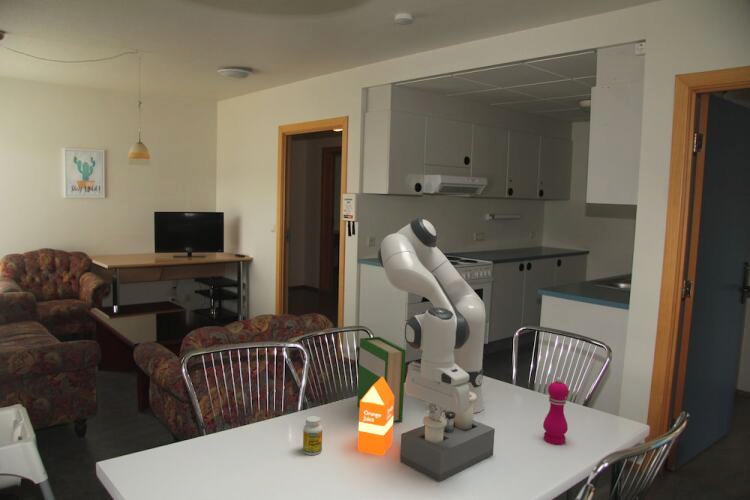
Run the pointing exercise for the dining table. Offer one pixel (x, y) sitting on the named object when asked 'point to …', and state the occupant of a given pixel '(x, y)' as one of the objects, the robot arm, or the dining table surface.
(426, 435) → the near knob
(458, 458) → the mount
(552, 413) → the pepper mill
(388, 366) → the hardback book
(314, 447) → the supplement bottle
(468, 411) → the cream lidded cup
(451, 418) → the small glass shaker
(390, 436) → the orange juice
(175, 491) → the dining table surface
